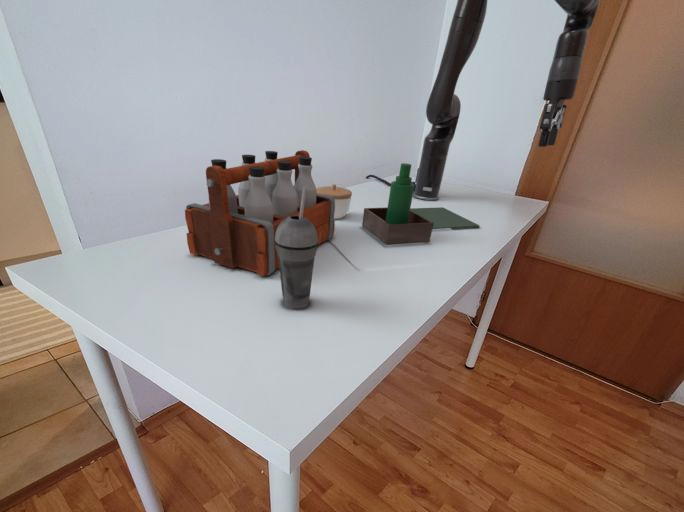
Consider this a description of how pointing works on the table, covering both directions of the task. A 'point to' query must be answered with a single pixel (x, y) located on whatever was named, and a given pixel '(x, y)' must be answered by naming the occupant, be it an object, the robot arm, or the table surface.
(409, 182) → the bottle
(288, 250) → the beverage cup
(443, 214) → the mat
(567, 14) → the robot arm
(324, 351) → the table surface
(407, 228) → the open wooden box
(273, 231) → the milk bottle holder
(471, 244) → the table surface
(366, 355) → the table surface
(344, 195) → the trinket box
